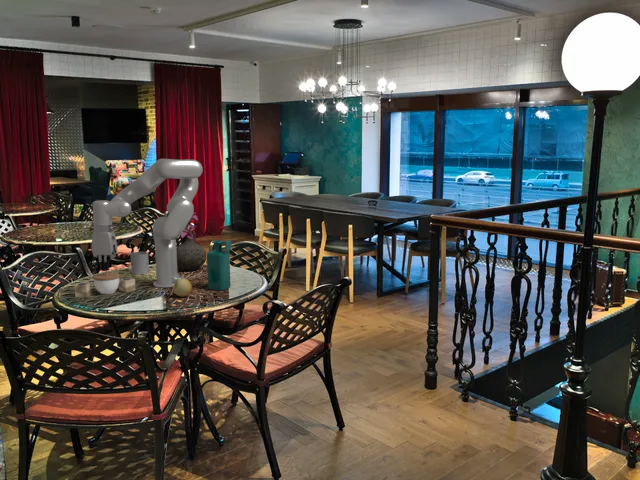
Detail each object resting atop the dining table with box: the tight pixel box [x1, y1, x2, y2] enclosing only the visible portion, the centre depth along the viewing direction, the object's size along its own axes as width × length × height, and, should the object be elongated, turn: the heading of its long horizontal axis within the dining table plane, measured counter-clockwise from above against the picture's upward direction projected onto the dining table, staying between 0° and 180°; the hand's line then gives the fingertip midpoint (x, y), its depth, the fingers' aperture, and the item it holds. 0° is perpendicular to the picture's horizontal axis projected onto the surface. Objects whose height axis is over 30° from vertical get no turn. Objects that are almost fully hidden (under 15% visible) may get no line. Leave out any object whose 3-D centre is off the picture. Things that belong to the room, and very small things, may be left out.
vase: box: [176, 212, 207, 272], centre depth 302 cm, size 17×17×30 cm
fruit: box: [172, 278, 193, 298], centre depth 249 cm, size 8×8×8 cm
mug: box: [130, 251, 150, 275], centre depth 299 cm, size 12×9×10 cm
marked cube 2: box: [118, 277, 136, 293], centre depth 261 cm, size 5×5×5 cm
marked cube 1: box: [74, 282, 93, 298], centre depth 252 cm, size 5×5×5 cm
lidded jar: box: [93, 271, 120, 295], centre depth 256 cm, size 11×11×9 cm
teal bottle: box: [206, 239, 232, 291], centre depth 262 cm, size 10×8×22 cm
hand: (105, 270), depth 255 cm, fingers closed
